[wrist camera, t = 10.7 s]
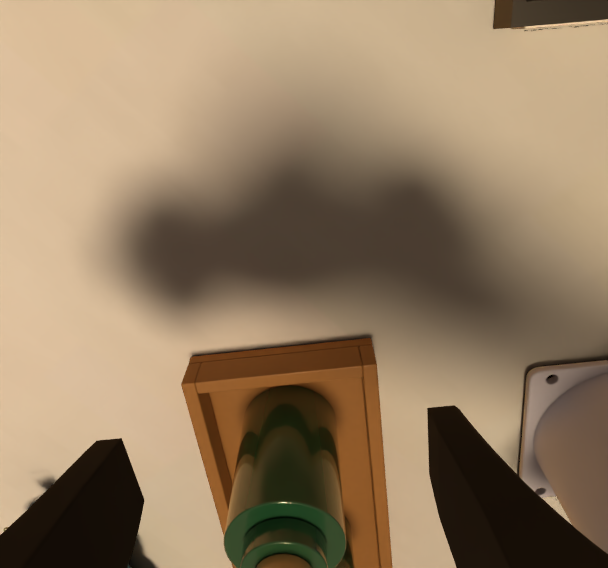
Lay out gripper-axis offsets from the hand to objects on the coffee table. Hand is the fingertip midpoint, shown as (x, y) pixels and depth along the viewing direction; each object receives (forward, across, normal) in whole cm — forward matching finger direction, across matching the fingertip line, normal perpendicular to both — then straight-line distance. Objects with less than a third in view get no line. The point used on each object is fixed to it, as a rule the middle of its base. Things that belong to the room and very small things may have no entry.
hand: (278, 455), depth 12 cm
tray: (+10, +1, +15) cm, 18 cm away
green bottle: (+10, +1, +7) cm, 12 cm away
